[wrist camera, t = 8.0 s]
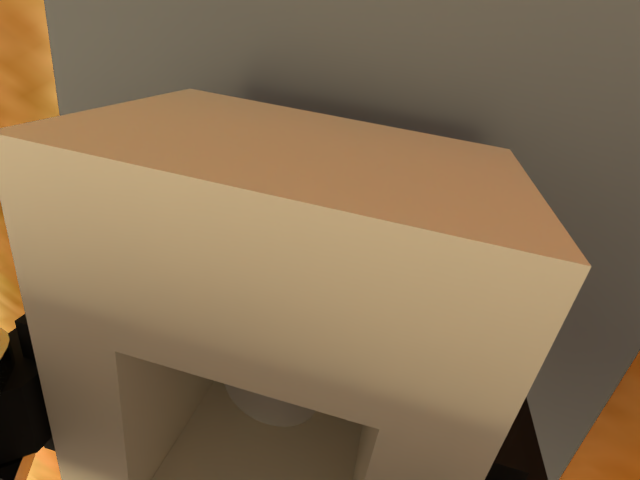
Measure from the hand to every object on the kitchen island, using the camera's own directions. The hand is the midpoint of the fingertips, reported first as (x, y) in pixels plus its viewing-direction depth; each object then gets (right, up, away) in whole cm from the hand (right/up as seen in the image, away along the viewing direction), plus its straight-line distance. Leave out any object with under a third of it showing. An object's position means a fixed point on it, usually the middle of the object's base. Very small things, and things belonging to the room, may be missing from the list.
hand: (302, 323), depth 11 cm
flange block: (0, 0, +1) cm, 1 cm away
